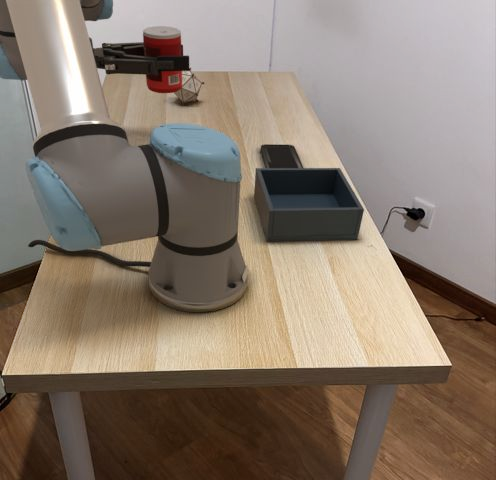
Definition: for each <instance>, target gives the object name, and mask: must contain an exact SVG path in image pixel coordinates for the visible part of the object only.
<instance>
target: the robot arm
mask: <svg viewBox="0 0 496 480" xmlns="http://www.w3.org/2000/svg"><path fill="white" fill-rule="evenodd" d="M113 13H114V0H0V79H3V80H16V81H17V80H18V81H22V82H23V81H27V83H28V87H29V91H30V94H31V98H32V102H33V105H34V109H35V113H36V116H37V121H38V125H39V128H40V131H39V132H38V134H37V136H36V137H35V138H34V139H33V141H32V150H33V155H34V156H31V157H30V158H28V159H27V160H26V161H25V171H26V174H27V175H26V176H27V178H28V181H29V183H30V186H31V189H32V191H33V195H34V198H35V201H36V203H37V206H38V208H39V211H40V213H41V215H42V218H43V220H44V223H45V225H46V227H47V229H48V230H49V231H48V232H49V233H50V235H51V236H52V238H53V240H54V242H55V243H56V244H57V245H55V244H53V243H52V242H48V241H46V240H43V239H33V240H31V242H29V243H28V245H27V247H28V248H34V247H36V246H43V247H45V248H48V249H50V250H51V251H55V252H57V253H61V254H67V255H89V256H96V257H97V256H98V257H101V258H103V259H106V260H108V261H110V262H112V263H114V264H116V265H119V266H123V267H141V268H142V267H143V268H145V267H146V268H149V269H148V286H149V290H150V292H151V294H152V295H153V297H154V298H155V299H157V300H158V301H159V302H160V303H161V304H163V305H165V306H168V307H169V308H172V309H174V310H178V311H182V312H190V313H208V312H215V311H218V310H222V309H225V308H227V307H230V306H232V305H233V304H235V303H236V302H238V301H239V300H240V299H241V298H242V297H243V296H244V295H245V293H246V291H247V288H248V278H249V277H248V275H249V267H248V264H246V262H245V259H244V257H243V253H242V250H241V246H240V244H239V239H238V235H239V219H240V218H239V217H240V197H241V181H242V179H243V174H242V166H241V163H242V162H241V151H240V148H239V147H238V144H237V143H236V142H235V141H234V139H232V138H231V137H230V136H228V135H227V134H225V133H223V132H221V131H218V130H216V129H214V128H211V127H208V126H203V125H198V124H193V123H180V122H175V123H173V122H172V123H171V122H170V123H165V124H161V125H159V126H156V127H154V128H153V129H152V131H151V133H150V136H149V143H147V144H140V145H130V143H129V139H128V135H127V132H126V129H125V127H124V126H122V125H121V124H119V123H118V122H116V121H114V120H113V119H111V117H110V112H109V108H108V106H107V101H106V98H105V93H104V90H103V86H102V82H101V78H100V75H99V71H98V70H104V72H105V75H117V74H119V75H145V76H146V75H154V76H158V71H182V72H185V71H189V68H190V55H184V45H183V44H181V55H182V56H157V58H155V57H145V56H144V42H143V41H142V42H141V41H140V42H139V41H138V42H137V41H136V42H118V43H117V42H116V43H112V42H111V43H109V42H103V43H101V46H100V47H94V44H93V39H92V37H90V36H89V32H88V29H87V25H86V24H87V23H86V22H97V21H101V20H109V19H110V18H111V17H113ZM155 237H157V242H156V245H155V248H154V251H153V254H152V258H151V261H143V260H142V261H141V260H123V259H120V258H117V257H115V256H113V255H111V254H110V253H107V252H104V251H101V250H100V249H101V248H103V247H107V246H113V245H117V244H123V243H130V242H134V241H140V240H146V239H151V238H155Z"/></svg>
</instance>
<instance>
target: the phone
mask: <svg viewBox="0 0 496 480" xmlns="http://www.w3.org/2000/svg"><path fill="white" fill-rule="evenodd" d="M260 154H261V157H262V161H263V163H264V166H265V167H264V168H304V166H303V164H302V162H301V161H302V160H301V159H300V156H299V154H298V152H297V150H296V147H295V146H294V145H293V144H271V143H270V144H266V143H264V144H261V145H260Z"/></svg>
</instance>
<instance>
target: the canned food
mask: <svg viewBox="0 0 496 480" xmlns="http://www.w3.org/2000/svg"><path fill="white" fill-rule="evenodd" d="M142 38H143V39H142V42H144V56H145V57H155V58H157V56H182V55H181V45H182V33H181V30H180V29H178V28H176V27H172V26H166V25H164V26H163V25H160V26H159V25H158V26H156V25H155V26H147V27H146V28H144V29H143V30H142ZM182 72H183V71H158V76H154V75H145V79H146V86H147V89H148V90H149V91H150V92H152V93H157V94H172V93H174V92H177V91H179V90H180V89H181V87H182Z"/></svg>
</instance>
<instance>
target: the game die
mask: <svg viewBox="0 0 496 480" xmlns="http://www.w3.org/2000/svg"><path fill="white" fill-rule="evenodd" d="M205 84H206V82H205V81H201V80H200V79H199V78H198V77H197V76H196V75H195V73H193V71H192V67H189V71H182V87H181V89H180V90H179V91H177V92H173V93H174V95H175V96H176V97H177V98H178V99H179V100H180V102H182V106H185V103H187V102H192V101H196V103H199V100H198V96H200V95H199V94H200V90H201V88H202V85H205Z"/></svg>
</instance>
